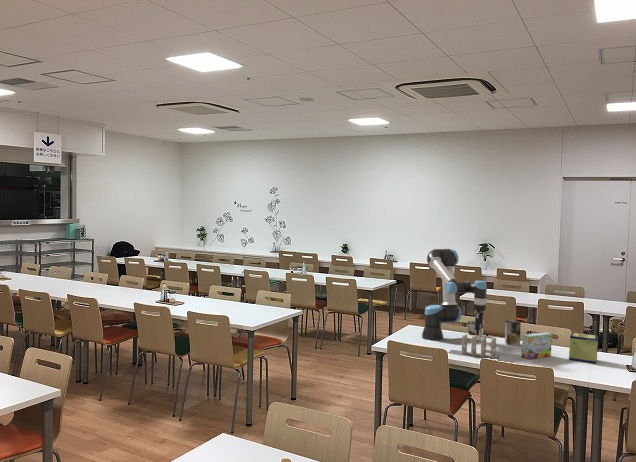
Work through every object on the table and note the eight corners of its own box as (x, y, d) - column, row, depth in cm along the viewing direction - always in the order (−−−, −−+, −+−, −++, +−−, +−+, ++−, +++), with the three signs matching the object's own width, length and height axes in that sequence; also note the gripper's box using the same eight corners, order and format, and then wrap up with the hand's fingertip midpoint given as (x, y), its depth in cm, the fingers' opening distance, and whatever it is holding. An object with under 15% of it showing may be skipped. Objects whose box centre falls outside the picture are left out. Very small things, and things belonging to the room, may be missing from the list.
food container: (486, 335, 393) (486, 322, 392) (482, 337, 388) (482, 323, 388) (470, 333, 401) (471, 320, 401) (466, 334, 397) (467, 321, 396)
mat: (447, 353, 339) (447, 353, 339) (451, 350, 348) (451, 349, 348) (497, 361, 323) (497, 360, 323) (500, 357, 333) (500, 356, 333)
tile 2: (480, 356, 331) (481, 338, 331) (482, 355, 335) (483, 336, 335) (484, 357, 330) (484, 338, 330) (485, 355, 334) (486, 336, 334)
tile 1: (490, 358, 328) (491, 339, 328) (492, 356, 332) (492, 337, 332) (493, 358, 327) (494, 339, 327) (495, 357, 332) (496, 338, 331)
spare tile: (475, 341, 348) (476, 323, 348) (477, 340, 353) (478, 322, 352) (479, 342, 347) (479, 324, 347) (480, 340, 352) (481, 322, 351)
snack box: (528, 360, 328) (529, 336, 327) (521, 358, 333) (521, 334, 332) (551, 356, 338) (552, 333, 337) (544, 354, 342) (545, 331, 342)
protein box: (596, 363, 323) (597, 338, 322) (568, 360, 330) (569, 335, 330) (597, 359, 332) (598, 335, 331) (569, 356, 339) (570, 332, 339)
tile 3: (471, 355, 334) (471, 336, 334) (472, 353, 338) (473, 335, 338) (474, 356, 333) (474, 337, 333) (476, 354, 337) (476, 335, 337)
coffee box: (517, 343, 371) (518, 320, 370) (520, 345, 364) (521, 322, 364) (504, 343, 372) (505, 320, 371) (506, 345, 365) (507, 322, 365)
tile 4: (461, 354, 337) (462, 335, 337) (463, 352, 341) (464, 334, 341) (464, 354, 336) (465, 335, 336) (466, 352, 340) (467, 334, 340)
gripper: (482, 307, 339) (481, 342, 340) (488, 302, 355) (487, 337, 356) (470, 305, 343) (469, 341, 344) (477, 301, 359) (475, 335, 360)
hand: (478, 338), depth 350 cm, fingers closed on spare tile, 5 cm apart
